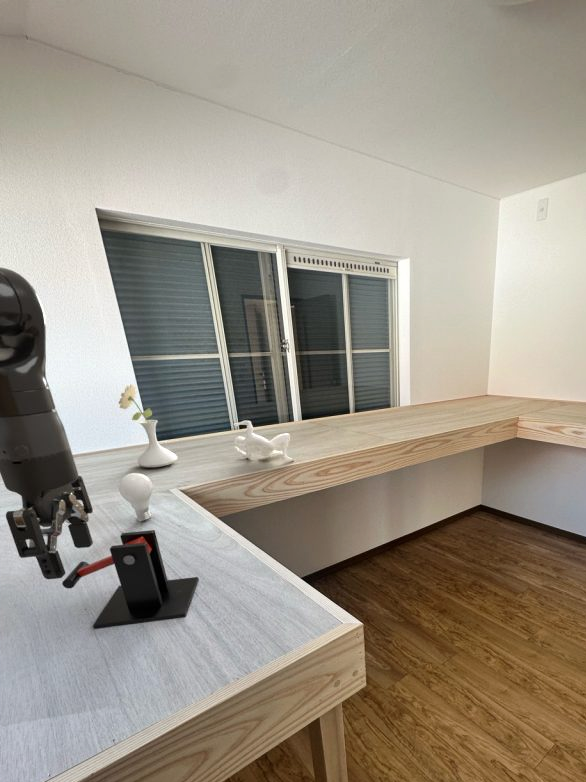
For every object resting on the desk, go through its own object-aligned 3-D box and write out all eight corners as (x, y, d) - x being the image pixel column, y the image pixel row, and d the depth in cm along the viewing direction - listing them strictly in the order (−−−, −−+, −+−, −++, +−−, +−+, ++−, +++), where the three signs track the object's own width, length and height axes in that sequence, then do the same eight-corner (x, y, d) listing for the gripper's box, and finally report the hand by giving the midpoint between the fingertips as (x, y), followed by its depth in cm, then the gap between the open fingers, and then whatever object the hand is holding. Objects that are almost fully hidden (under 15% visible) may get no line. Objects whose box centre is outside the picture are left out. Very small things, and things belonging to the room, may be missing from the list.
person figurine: (290, 421, 139) (233, 416, 131) (298, 437, 129) (237, 433, 122) (285, 456, 146) (231, 453, 138) (292, 473, 136) (235, 472, 128)
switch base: (95, 634, 58) (69, 561, 53) (121, 593, 67) (100, 528, 62) (186, 622, 60) (169, 551, 56) (199, 584, 69) (185, 520, 65)
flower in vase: (159, 458, 138) (140, 380, 128) (186, 461, 135) (169, 381, 124) (125, 470, 127) (101, 385, 117) (153, 473, 123) (132, 386, 113)
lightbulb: (138, 528, 89) (125, 480, 85) (122, 522, 92) (109, 475, 88) (166, 518, 94) (155, 472, 89) (150, 512, 97) (138, 467, 93)
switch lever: (69, 592, 58) (57, 579, 56) (84, 573, 62) (74, 561, 61) (144, 561, 58) (134, 547, 57) (155, 544, 63) (145, 531, 61)
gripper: (30, 436, 57) (65, 540, 64) (-45, 467, 45) (9, 593, 51) (90, 434, 59) (119, 536, 65) (35, 463, 46) (77, 586, 53)
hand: (71, 561), depth 58 cm, fingers open, 8 cm apart
